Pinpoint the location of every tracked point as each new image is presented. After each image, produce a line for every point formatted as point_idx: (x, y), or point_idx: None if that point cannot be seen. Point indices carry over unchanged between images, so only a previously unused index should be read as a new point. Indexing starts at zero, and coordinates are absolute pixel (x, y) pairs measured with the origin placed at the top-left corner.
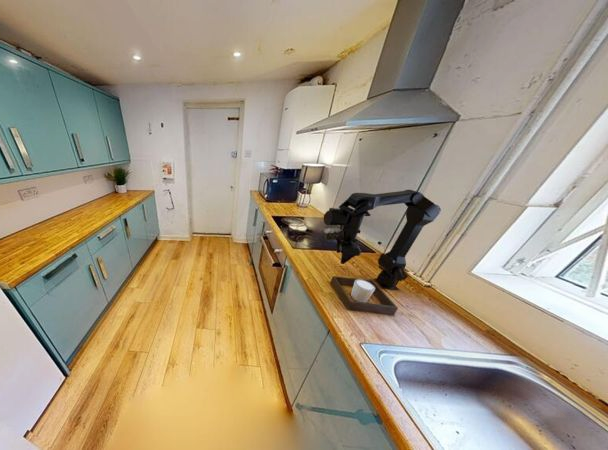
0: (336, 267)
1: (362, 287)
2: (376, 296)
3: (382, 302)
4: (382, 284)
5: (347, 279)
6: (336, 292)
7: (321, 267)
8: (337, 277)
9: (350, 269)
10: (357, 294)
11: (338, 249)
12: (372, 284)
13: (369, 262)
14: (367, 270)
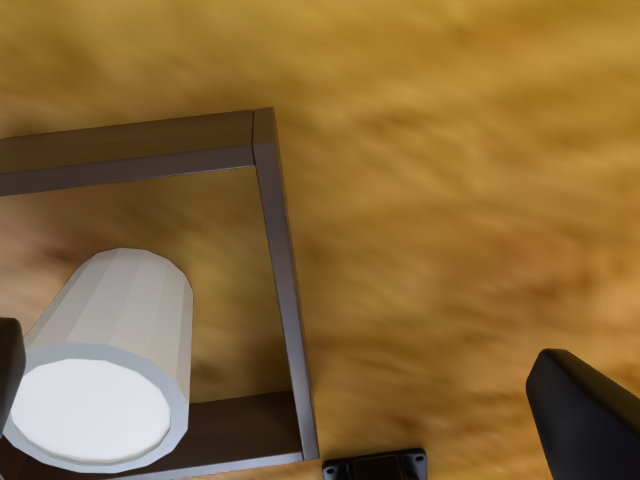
0: (567, 244)
1: (21, 385)
2: (195, 409)
3: None
4: (348, 477)
5: (275, 284)
6: (108, 127)
7: (564, 86)
8: (261, 192)
9: (539, 344)
10: (51, 302)
11: (585, 433)
12: (278, 439)
13: None
14: (532, 441)
